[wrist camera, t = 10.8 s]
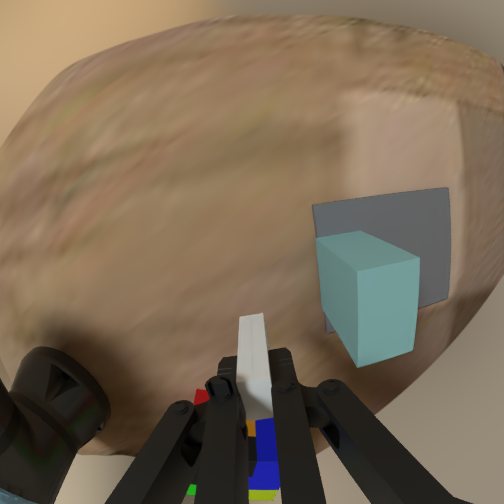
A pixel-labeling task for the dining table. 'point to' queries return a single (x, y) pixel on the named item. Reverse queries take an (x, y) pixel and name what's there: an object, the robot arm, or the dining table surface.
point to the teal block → (369, 294)
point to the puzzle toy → (255, 457)
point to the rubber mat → (399, 232)
